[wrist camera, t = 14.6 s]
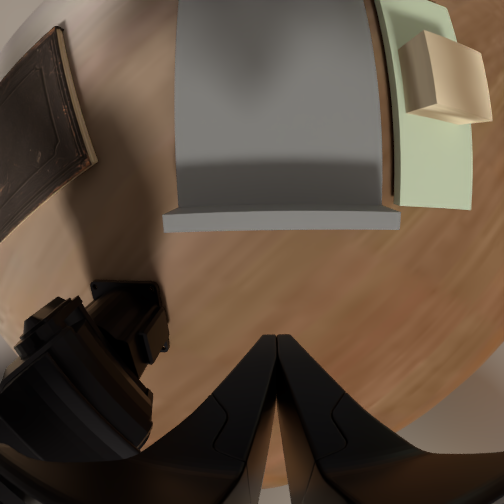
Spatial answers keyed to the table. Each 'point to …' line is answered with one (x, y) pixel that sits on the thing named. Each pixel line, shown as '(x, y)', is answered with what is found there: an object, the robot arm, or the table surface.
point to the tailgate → (423, 119)
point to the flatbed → (277, 118)
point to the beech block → (444, 80)
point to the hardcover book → (39, 131)
